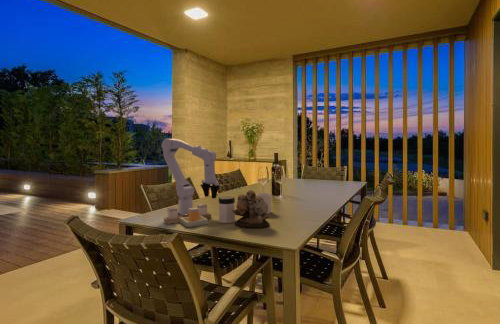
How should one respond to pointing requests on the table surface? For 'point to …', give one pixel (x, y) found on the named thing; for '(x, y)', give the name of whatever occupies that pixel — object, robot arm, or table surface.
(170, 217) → the white fuse
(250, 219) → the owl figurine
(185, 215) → the rack
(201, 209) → the block
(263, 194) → the mug
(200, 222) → the tray
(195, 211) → the block
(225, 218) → the jar
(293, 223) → the table surface
